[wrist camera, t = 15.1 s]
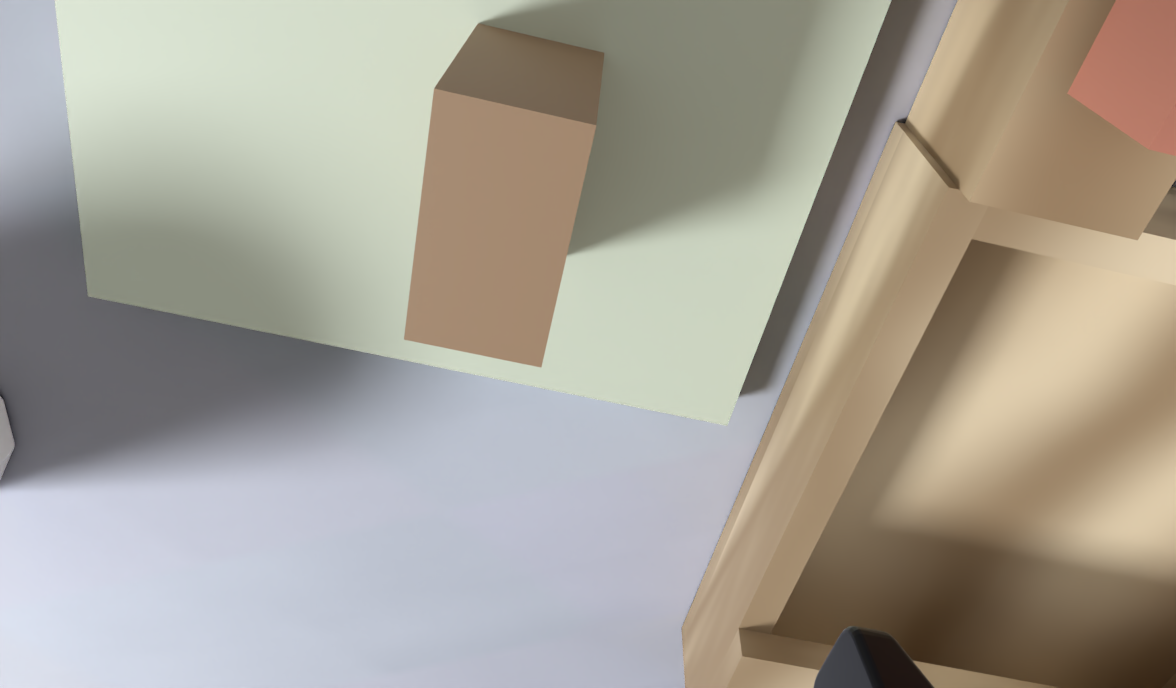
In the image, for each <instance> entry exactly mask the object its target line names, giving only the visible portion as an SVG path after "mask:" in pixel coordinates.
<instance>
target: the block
mask: <svg viewBox="0 0 1176 688" xmlns="http://www.w3.org/2000/svg"><path fill="white" fill-rule="evenodd" d="M1067 94H1069V95H1070V96H1072V97H1073V98H1075V99H1076V100H1077V101H1079V102H1080V103H1082V104H1083V105H1085V106H1086V107H1088V108H1089V109H1090V110H1092V111H1093V112H1095V113H1096V114H1098V115H1099V116H1101V117H1102V118H1104V119H1105V120H1106V121H1108V122H1109V123H1111V124H1112V125H1114V126H1115V127H1117V128H1118V129H1119V130H1121V131H1122V132H1124V133H1125V134H1127V135H1128V136H1130V137H1131V138H1133V139H1134V140H1135V141H1137V142H1138V143H1140V144H1141V145H1143V146H1144V147H1146V148H1147V149H1149V150H1153V151H1157V152H1161V153H1165V154H1169V155H1174V156H1176V0H1116V1H1115V3H1114V5H1113V7H1112V9H1111V10H1110V12H1109V14H1108V16H1107V18H1106V20H1105V22H1104V24H1103V26H1102V28H1101V30H1100V32H1099V33H1098V35H1097V37H1096V39H1095V41H1094V43H1093V45H1092V47H1091V49H1090V51H1089V53H1088V54H1087V56H1086V58H1085V60H1084V62H1083V64H1082V66H1081V68H1080V70H1079V72H1078V74H1077V76H1076V77H1075V79H1074V81H1073V83H1072V85H1071V87H1070V89H1069V91H1068V93H1067Z"/></svg>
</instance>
